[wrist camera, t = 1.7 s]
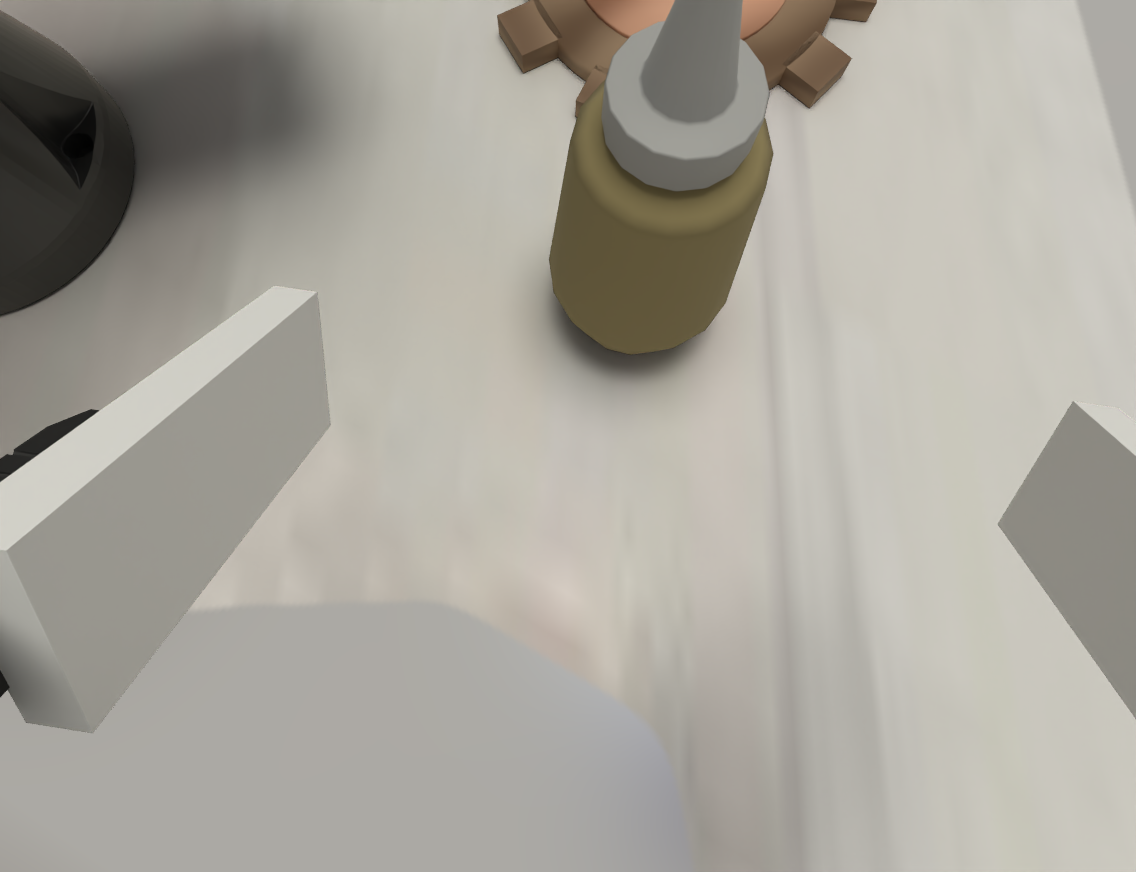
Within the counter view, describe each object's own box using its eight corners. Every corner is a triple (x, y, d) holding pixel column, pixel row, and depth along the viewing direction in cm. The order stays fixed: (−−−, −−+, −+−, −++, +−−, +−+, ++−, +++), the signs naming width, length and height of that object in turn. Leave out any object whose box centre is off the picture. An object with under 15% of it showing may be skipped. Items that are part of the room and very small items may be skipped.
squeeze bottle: (516, 292, 32) (465, -50, 15) (636, 195, 34) (722, -227, 16) (626, 411, 31) (715, 194, 13) (747, 306, 32) (972, -18, 15)
